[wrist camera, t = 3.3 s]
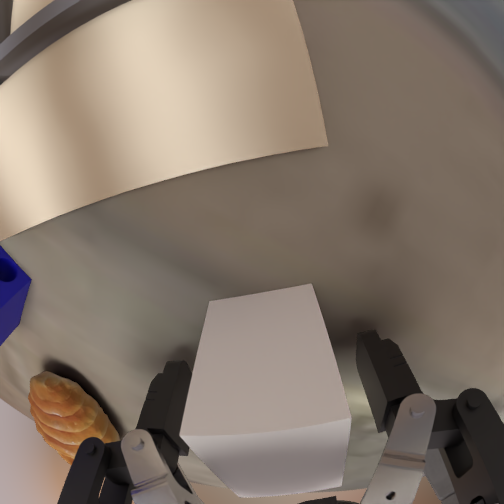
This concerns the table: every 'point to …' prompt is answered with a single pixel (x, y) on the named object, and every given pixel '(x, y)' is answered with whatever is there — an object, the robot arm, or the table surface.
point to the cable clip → (11, 294)
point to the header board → (143, 96)
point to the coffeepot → (439, 477)
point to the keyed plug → (268, 396)
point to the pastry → (67, 414)
